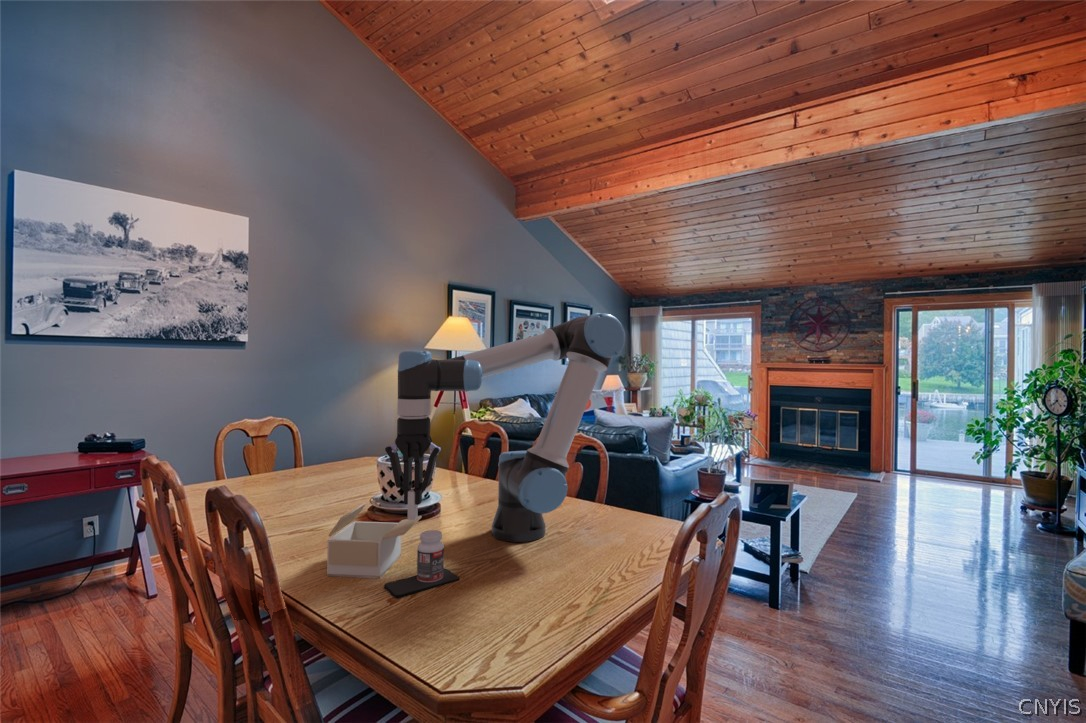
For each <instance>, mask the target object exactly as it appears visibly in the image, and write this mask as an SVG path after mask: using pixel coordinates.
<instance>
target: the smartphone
mask: <svg viewBox="0 0 1086 723" xmlns="http://www.w3.org/2000/svg"><path fill="white" fill-rule="evenodd" d="M458 581H460V577H459V576H458V575H457V574H455V573H454V572H453V571H451V570H450V569H448V568H444V569H443V578H442V579H440V580H438V581H435V582H421V581H419V580H418V579H417V574H415V575H413V576H409V577H405V578H404V577H403V578H401V579H395V580H393V581H389V582H386V583H384V585H383V589H385V590H386V592H388V594H390V596H391V597H393V599H402V598H406V597H409V596H413V595H415V594H420V593H422V592H426V591H429V590H432V589H435V588H439V587H441V586H445V584H446V585H448V584H452V583H456V582H458Z"/></svg>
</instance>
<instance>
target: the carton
mask: <svg viewBox="0 0 1086 723" xmlns="http://www.w3.org/2000/svg"><path fill="white" fill-rule="evenodd" d="M398 523H399V522H382V521H381V522H380V521H359V520H358V521H355V520H353V521H352V522H351V523H349V524H348V525H346V526H345V527H343V528H342V529H341V530H339V531H338V532H336V533H335V534H333V535H332V536H330V538H329V539H327V554H326V555H327V558H326V559H327V560H326V562H327V563H326V569H327V570H326V576H327V577H338V578H341V577H342V578H362V579H363V578H364V579H365V578H366V579H381V578H382V577H383V575H385V573H386V572H387V571H388V570H389V569H390V568H391V567H392V566H393V565H394V564H395V562H396V561H397V560H398V559H400V557H401V555H402V535H401V536H397V537H393V538H389V539H384V540H382V537H383V536H385V535H386V534H387V533H388V532H389V531H390V530H391V529H392V528H394V527H395V526H396V525H397V524H398Z"/></svg>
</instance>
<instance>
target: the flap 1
mask: <svg viewBox="0 0 1086 723" xmlns="http://www.w3.org/2000/svg"><path fill="white" fill-rule="evenodd" d="M366 505H367V502H366V501H364V502H363V503H361V504H359V505H358V506H356V507H355V508H354V509H352V510H350V511H349V512H347V513H346V514H344V515H343V516H341V517H340V518H339V520H338V522H337V523H336V524H335V525H334V527H333V528H332V529H331V531H330V532H329V534H328V537H333V536H334V535H335V534H337V533H338V532H340V531H341V530H343V529H344V528H345V527H347V526H348V525H350V524H351V523H352V522H354V521H355V520H356V519H357V518H358V516H359V514H360V513H361V512H362V511H363V509H364V508H365V506H366Z"/></svg>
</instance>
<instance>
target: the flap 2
mask: <svg viewBox="0 0 1086 723" xmlns="http://www.w3.org/2000/svg"><path fill="white" fill-rule="evenodd" d="M421 519H422V515H418V517H417V518H415V519H414V520H408V518H405V519H401V520H400V521H399V522H397V523H398V524H397V525H396V526H395V527H394V528H392V529H391V530H390V531H389V532H388V533H387V534H386V535H385V536H383V537H382V540H384V539H389V538H393V537H397V536H401V537H402V536H404V535H405V534H406V533H408V531H409V530H410V529H412V528H413V526H415V525H416V524H417V523H418V522H419V520H421Z"/></svg>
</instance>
